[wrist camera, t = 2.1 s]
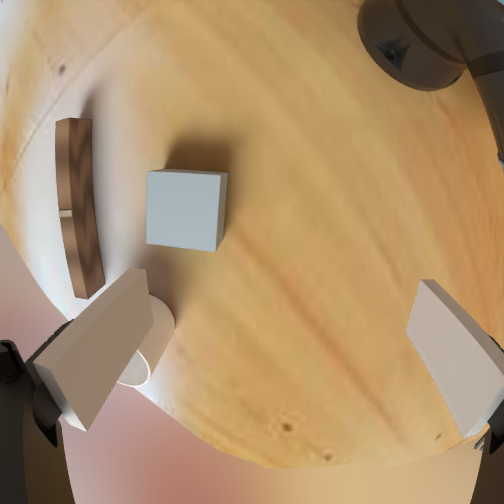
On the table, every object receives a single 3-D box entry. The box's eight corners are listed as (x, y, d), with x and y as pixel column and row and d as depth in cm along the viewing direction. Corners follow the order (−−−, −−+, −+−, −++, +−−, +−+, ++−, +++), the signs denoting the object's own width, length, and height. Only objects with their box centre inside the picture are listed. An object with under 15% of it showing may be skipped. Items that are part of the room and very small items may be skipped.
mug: (107, 322, 40) (73, 362, 30) (143, 280, 37) (105, 320, 27) (145, 357, 42) (120, 401, 32) (187, 321, 38) (163, 370, 28)
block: (164, 168, 32) (147, 171, 27) (228, 172, 31) (220, 175, 27) (162, 231, 34) (146, 243, 30) (223, 238, 34) (215, 252, 29)
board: (78, 122, 30) (55, 121, 25) (91, 119, 30) (68, 117, 25) (92, 282, 38) (74, 297, 33) (105, 284, 38) (87, 300, 33)
